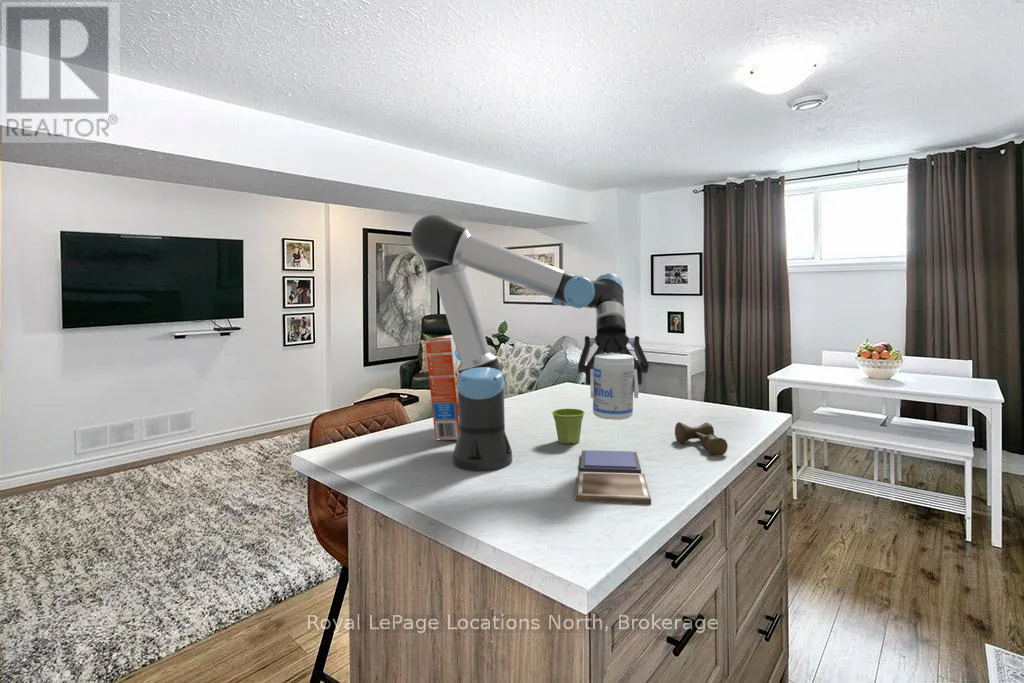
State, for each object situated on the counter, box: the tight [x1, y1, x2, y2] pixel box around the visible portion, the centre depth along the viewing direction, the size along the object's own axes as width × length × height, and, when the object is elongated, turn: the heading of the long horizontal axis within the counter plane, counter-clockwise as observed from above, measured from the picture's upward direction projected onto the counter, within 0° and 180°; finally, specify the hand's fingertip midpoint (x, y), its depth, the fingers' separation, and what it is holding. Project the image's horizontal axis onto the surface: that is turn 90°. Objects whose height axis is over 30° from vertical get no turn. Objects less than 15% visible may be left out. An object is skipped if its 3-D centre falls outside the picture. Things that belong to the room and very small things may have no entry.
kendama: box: [674, 421, 729, 456], centre depth 143 cm, size 6×10×20 cm
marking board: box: [575, 471, 652, 505], centre depth 112 cm, size 15×15×1 cm
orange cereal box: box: [425, 334, 460, 441], centre depth 162 cm, size 23×8×30 cm, turn 163°
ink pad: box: [579, 449, 642, 474], centre depth 128 cm, size 14×14×2 cm
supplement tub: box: [592, 353, 635, 421], centre depth 125 cm, size 10×10×15 cm
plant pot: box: [551, 408, 586, 445], centre depth 149 cm, size 9×9×9 cm
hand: (614, 394), depth 122 cm, fingers closed on supplement tub, 9 cm apart
